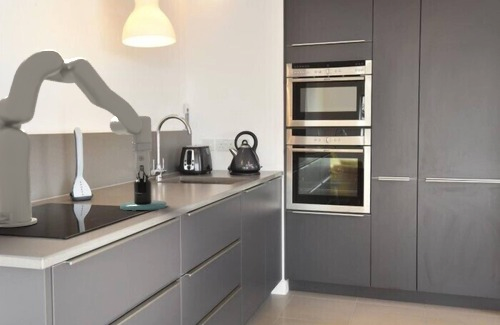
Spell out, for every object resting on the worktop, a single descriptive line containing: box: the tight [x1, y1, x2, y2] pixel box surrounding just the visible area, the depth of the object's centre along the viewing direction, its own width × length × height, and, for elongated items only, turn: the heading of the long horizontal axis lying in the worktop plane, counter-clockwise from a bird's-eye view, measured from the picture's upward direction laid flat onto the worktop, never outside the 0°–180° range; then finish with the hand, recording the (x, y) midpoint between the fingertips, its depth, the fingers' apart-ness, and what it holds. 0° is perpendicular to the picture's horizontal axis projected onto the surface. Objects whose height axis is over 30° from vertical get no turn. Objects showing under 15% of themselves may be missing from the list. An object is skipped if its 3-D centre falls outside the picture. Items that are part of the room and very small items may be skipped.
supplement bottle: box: [133, 173, 153, 205], centre depth 198 cm, size 7×7×12 cm
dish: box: [119, 199, 168, 212], centre depth 199 cm, size 18×18×2 cm
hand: (143, 191), depth 198 cm, fingers open, 9 cm apart
